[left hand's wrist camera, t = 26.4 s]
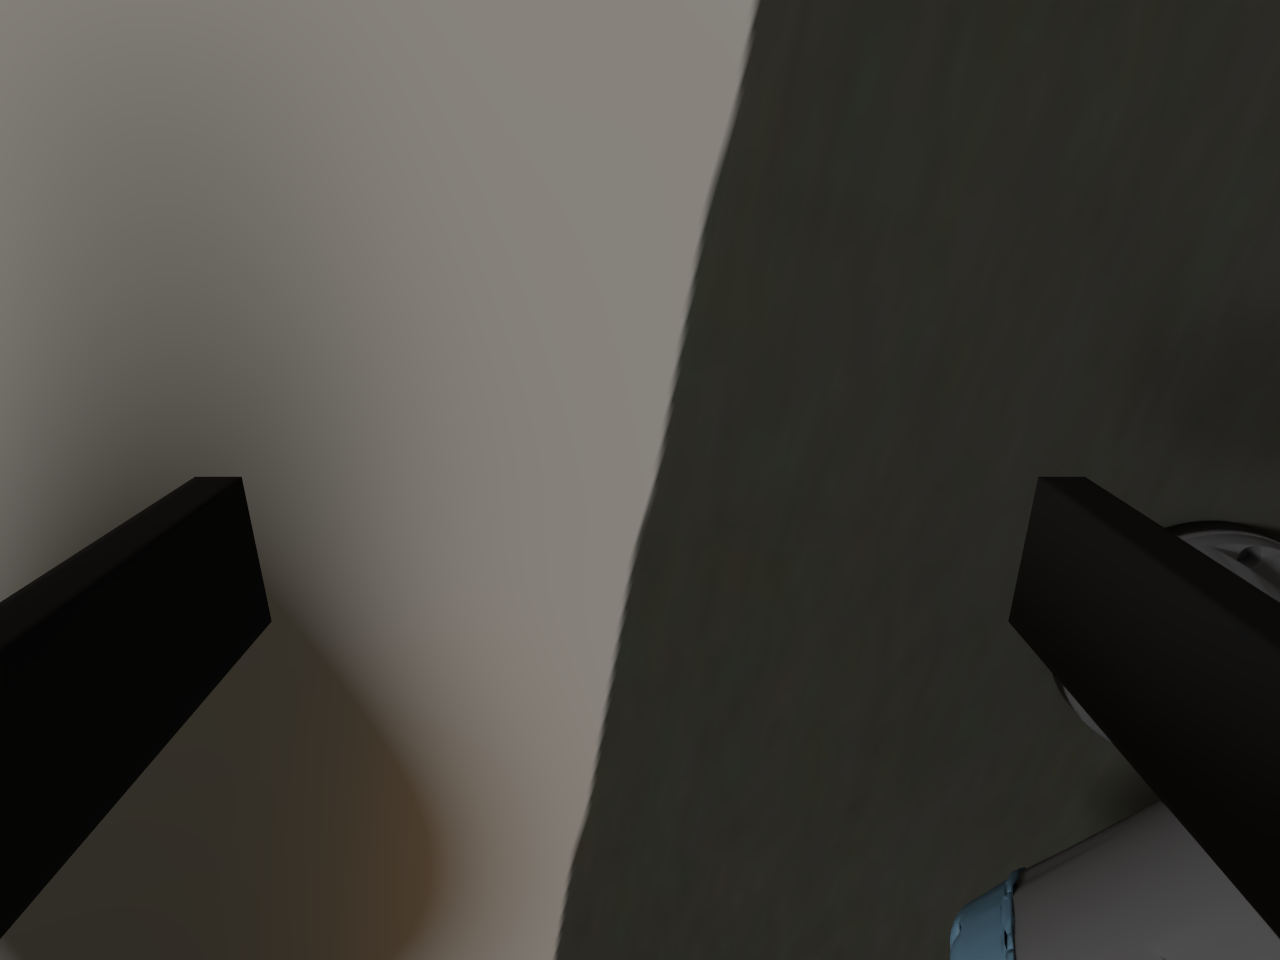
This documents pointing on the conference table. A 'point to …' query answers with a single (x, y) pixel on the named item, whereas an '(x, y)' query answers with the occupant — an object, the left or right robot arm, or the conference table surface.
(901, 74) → the conference table surface
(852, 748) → the conference table surface
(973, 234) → the conference table surface
